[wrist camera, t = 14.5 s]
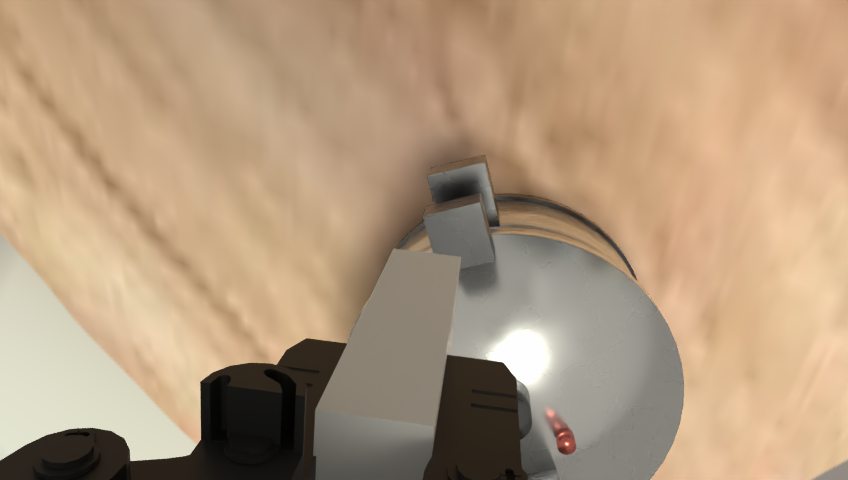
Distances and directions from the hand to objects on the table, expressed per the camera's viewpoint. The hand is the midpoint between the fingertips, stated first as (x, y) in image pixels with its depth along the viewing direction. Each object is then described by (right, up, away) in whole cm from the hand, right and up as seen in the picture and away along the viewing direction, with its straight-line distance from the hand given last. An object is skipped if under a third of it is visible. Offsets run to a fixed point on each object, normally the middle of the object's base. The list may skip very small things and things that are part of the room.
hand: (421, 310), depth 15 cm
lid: (+6, -10, +24) cm, 26 cm away
